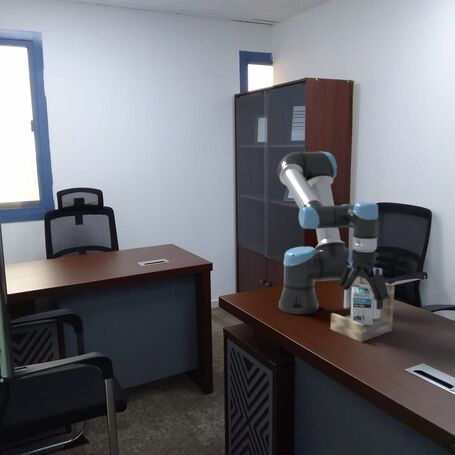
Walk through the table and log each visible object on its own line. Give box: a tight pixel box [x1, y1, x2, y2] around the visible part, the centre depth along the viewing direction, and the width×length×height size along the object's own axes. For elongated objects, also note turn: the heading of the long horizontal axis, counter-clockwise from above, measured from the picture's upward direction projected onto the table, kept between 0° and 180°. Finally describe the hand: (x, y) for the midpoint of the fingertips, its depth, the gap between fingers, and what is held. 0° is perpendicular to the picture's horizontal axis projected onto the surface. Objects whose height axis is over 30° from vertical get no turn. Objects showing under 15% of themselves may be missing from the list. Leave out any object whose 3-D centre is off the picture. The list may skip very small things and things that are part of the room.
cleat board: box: [330, 277, 395, 343], centre depth 154 cm, size 13×16×16 cm
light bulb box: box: [350, 283, 374, 325], centre depth 154 cm, size 11×7×11 cm, turn 168°
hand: (361, 312), depth 155 cm, fingers closed on light bulb box, 12 cm apart
